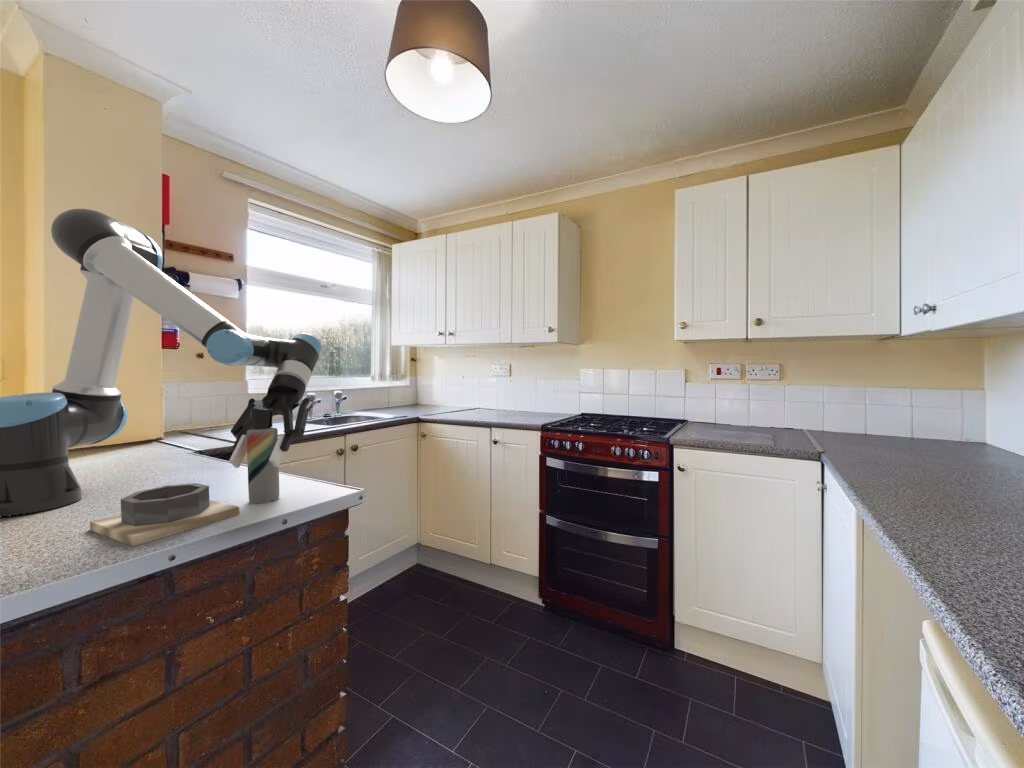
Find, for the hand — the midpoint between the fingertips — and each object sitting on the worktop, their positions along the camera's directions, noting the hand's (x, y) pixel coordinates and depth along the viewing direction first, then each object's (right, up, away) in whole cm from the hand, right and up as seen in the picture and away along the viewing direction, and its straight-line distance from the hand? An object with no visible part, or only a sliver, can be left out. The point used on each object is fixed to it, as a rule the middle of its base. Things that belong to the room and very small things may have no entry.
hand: (253, 463), depth 85 cm
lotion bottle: (0, -9, +4) cm, 9 cm away
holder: (-10, -9, -9) cm, 16 cm away
